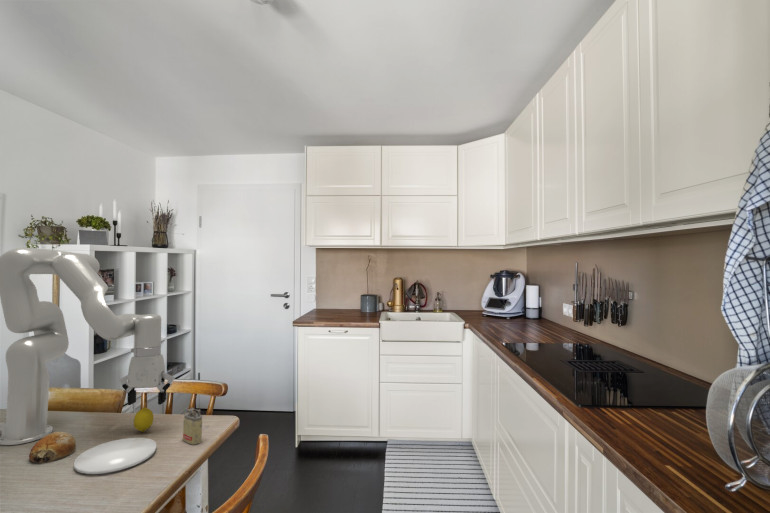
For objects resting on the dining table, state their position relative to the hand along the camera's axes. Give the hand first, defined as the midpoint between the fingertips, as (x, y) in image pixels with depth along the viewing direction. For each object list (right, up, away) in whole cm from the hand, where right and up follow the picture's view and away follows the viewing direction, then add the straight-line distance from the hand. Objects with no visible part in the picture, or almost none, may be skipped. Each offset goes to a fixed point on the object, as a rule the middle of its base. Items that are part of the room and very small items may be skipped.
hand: (146, 403), depth 123 cm
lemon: (-1, -10, -1) cm, 10 cm away
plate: (+3, -9, -17) cm, 20 cm away
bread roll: (-16, -9, -17) cm, 25 cm away
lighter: (+18, -10, -6) cm, 22 cm away
